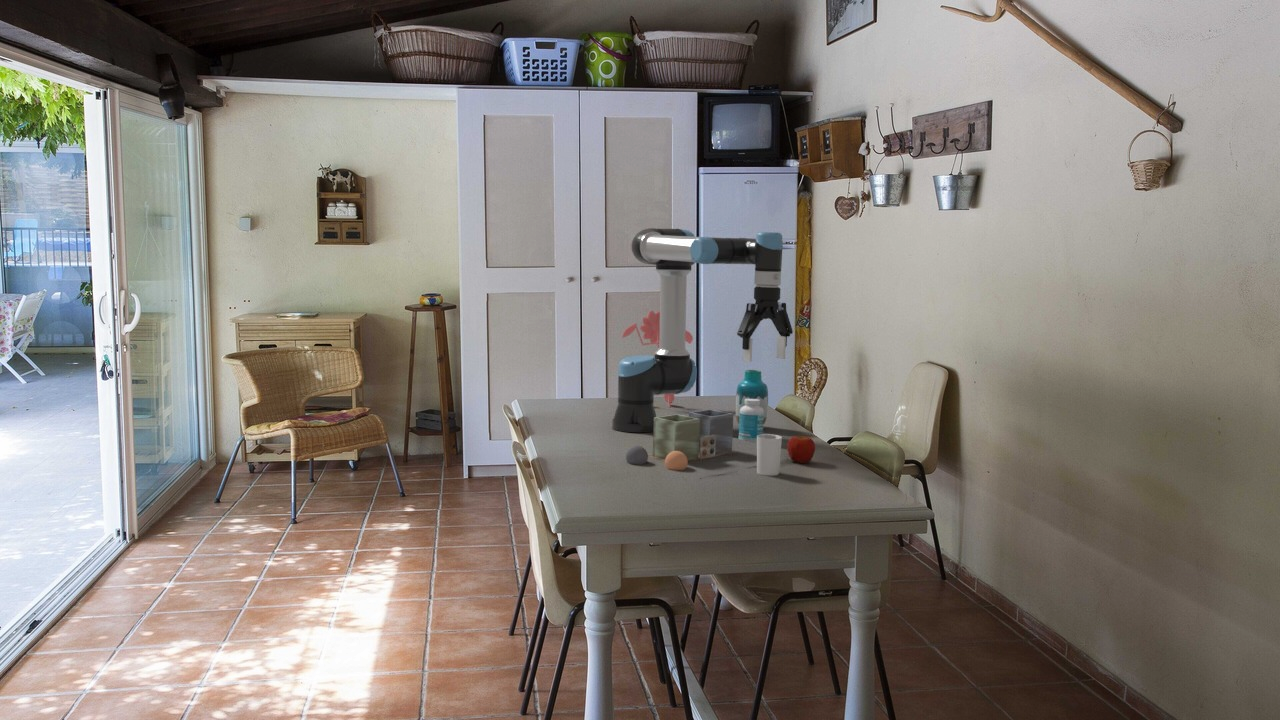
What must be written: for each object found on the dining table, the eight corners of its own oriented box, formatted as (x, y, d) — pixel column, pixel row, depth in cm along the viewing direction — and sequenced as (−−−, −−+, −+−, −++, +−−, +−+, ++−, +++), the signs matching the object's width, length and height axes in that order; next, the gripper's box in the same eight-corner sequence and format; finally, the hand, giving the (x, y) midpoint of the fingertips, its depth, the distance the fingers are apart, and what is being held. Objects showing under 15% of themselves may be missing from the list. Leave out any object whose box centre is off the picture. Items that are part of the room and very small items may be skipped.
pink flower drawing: (692, 407, 374) (695, 312, 370) (623, 408, 369) (625, 311, 365) (683, 400, 389) (686, 309, 385) (616, 401, 384) (618, 308, 380)
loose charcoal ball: (620, 467, 276) (621, 445, 276) (637, 464, 281) (637, 442, 280) (636, 471, 272) (636, 449, 271) (652, 468, 276) (652, 446, 275)
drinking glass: (774, 477, 270) (775, 440, 268) (751, 473, 273) (752, 436, 272) (784, 472, 275) (786, 436, 274) (761, 469, 279) (763, 433, 277)
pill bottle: (761, 446, 309) (763, 402, 307) (737, 444, 311) (738, 400, 309) (763, 441, 316) (765, 398, 315) (739, 439, 318) (741, 397, 316)
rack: (645, 461, 284) (646, 417, 282) (708, 449, 302) (709, 408, 300) (675, 469, 275) (677, 423, 274) (739, 456, 293) (740, 414, 292)
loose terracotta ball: (659, 472, 271) (660, 450, 271) (675, 469, 275) (676, 447, 275) (676, 476, 267) (676, 454, 266) (691, 473, 271) (692, 451, 270)
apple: (797, 466, 283) (798, 438, 282) (780, 460, 290) (782, 433, 289) (819, 464, 287) (821, 436, 286) (802, 458, 294) (804, 431, 293)
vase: (771, 427, 341) (773, 370, 338) (761, 432, 331) (763, 373, 329) (740, 423, 345) (743, 367, 343) (730, 428, 335) (732, 371, 333)
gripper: (745, 287, 282) (742, 363, 284) (806, 286, 297) (803, 358, 300) (726, 285, 288) (723, 360, 290) (788, 285, 303) (784, 355, 306)
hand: (764, 359), depth 295 cm, fingers open, 13 cm apart
